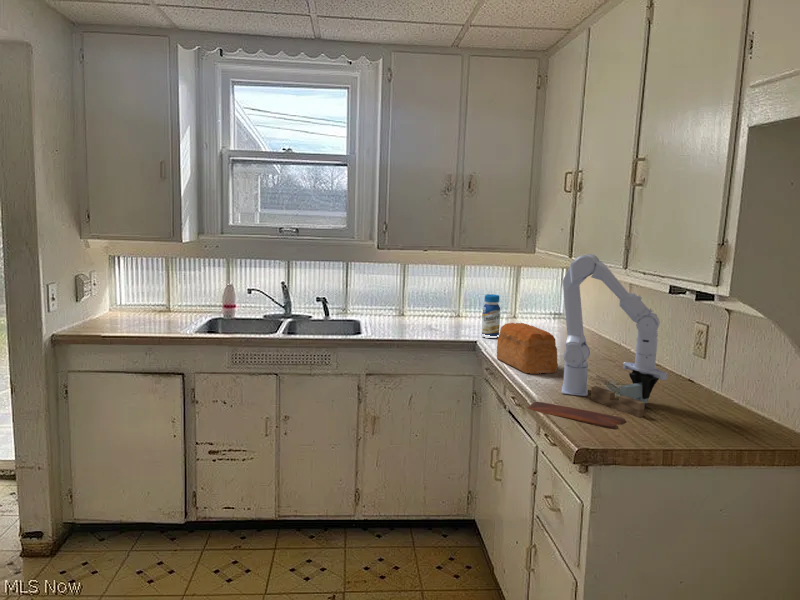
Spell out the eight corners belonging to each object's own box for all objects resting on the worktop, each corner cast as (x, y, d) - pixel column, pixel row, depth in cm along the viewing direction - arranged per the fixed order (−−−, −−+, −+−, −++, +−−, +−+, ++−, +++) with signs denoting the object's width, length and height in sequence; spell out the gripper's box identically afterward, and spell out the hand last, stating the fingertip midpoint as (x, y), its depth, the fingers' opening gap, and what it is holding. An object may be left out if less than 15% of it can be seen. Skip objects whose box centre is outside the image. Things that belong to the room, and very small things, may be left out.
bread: (524, 356, 237) (526, 319, 235) (560, 373, 211) (563, 332, 209) (492, 358, 233) (494, 320, 231) (525, 375, 207) (528, 333, 205)
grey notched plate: (624, 407, 173) (626, 387, 172) (619, 405, 175) (620, 385, 174) (647, 402, 178) (649, 383, 177) (642, 401, 180) (644, 382, 179)
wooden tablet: (627, 422, 162) (627, 416, 162) (615, 432, 154) (615, 426, 154) (537, 402, 178) (537, 397, 178) (522, 410, 170) (522, 404, 170)
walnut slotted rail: (590, 399, 180) (591, 386, 180) (595, 398, 181) (596, 386, 181) (638, 417, 165) (639, 403, 164) (643, 416, 165) (644, 402, 165)
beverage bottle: (499, 336, 277) (501, 294, 275) (499, 339, 269) (501, 296, 266) (481, 335, 279) (483, 293, 276) (480, 338, 271) (482, 295, 268)
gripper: (675, 357, 171) (671, 402, 173) (635, 347, 184) (632, 389, 186) (659, 359, 168) (655, 405, 170) (619, 349, 181) (616, 391, 183)
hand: (642, 397), depth 178 cm, fingers closed on grey notched plate, 2 cm apart
